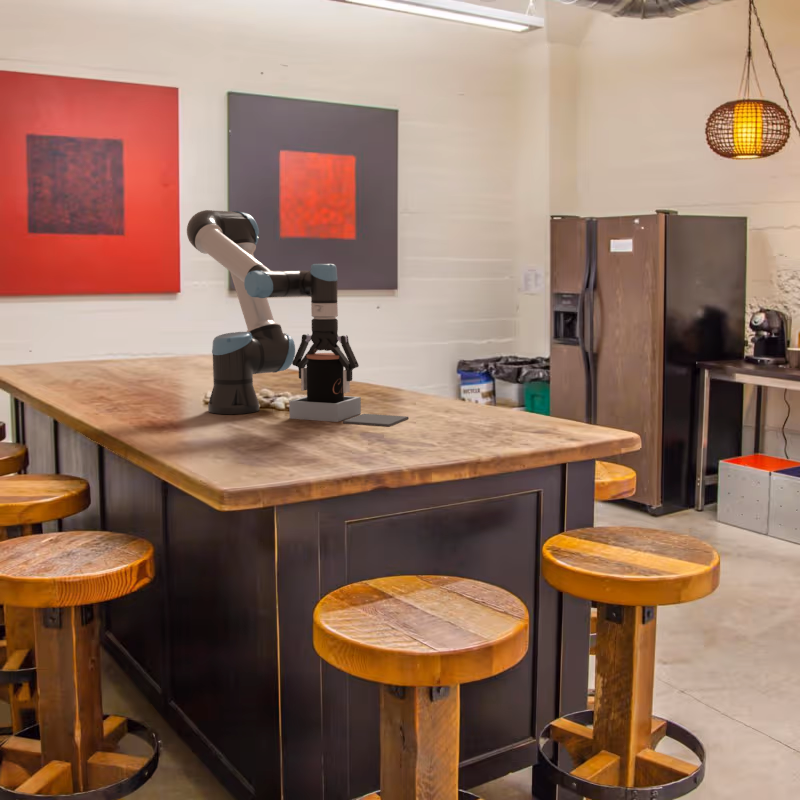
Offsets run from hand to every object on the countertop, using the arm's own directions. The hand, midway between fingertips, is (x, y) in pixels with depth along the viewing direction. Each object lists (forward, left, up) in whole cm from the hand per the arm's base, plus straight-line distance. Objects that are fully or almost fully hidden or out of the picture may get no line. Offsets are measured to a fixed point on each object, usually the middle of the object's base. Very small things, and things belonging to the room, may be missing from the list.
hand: (325, 391), depth 266 cm
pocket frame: (0, 0, -7) cm, 7 cm away
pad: (+17, -2, -7) cm, 19 cm away
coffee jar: (0, 0, -8) cm, 8 cm away
